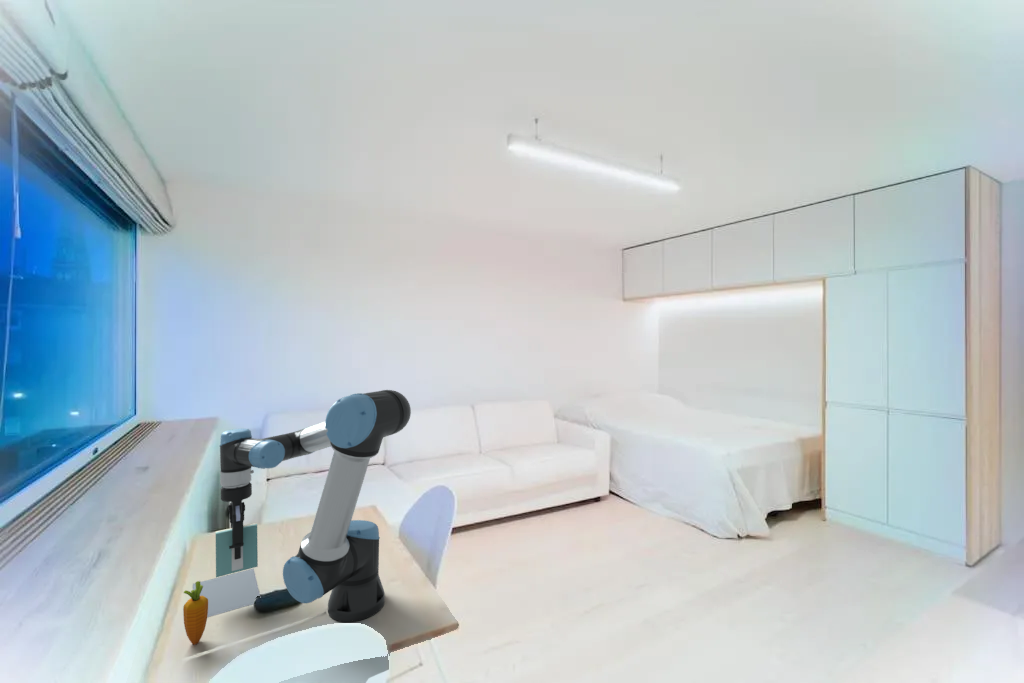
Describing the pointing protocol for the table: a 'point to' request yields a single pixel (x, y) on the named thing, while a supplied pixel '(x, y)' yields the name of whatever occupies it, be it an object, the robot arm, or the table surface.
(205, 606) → the carrot
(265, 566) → the table surface
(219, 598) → the mat
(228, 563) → the board
